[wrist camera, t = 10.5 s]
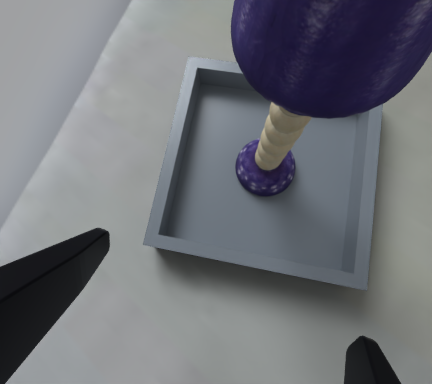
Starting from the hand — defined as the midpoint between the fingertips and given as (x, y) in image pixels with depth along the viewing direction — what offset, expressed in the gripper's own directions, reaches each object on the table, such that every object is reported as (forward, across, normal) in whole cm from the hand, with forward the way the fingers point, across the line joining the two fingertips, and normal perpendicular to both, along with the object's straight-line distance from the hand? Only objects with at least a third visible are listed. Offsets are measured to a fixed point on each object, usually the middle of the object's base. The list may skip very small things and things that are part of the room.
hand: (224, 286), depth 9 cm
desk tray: (+12, 0, +2) cm, 12 cm away
